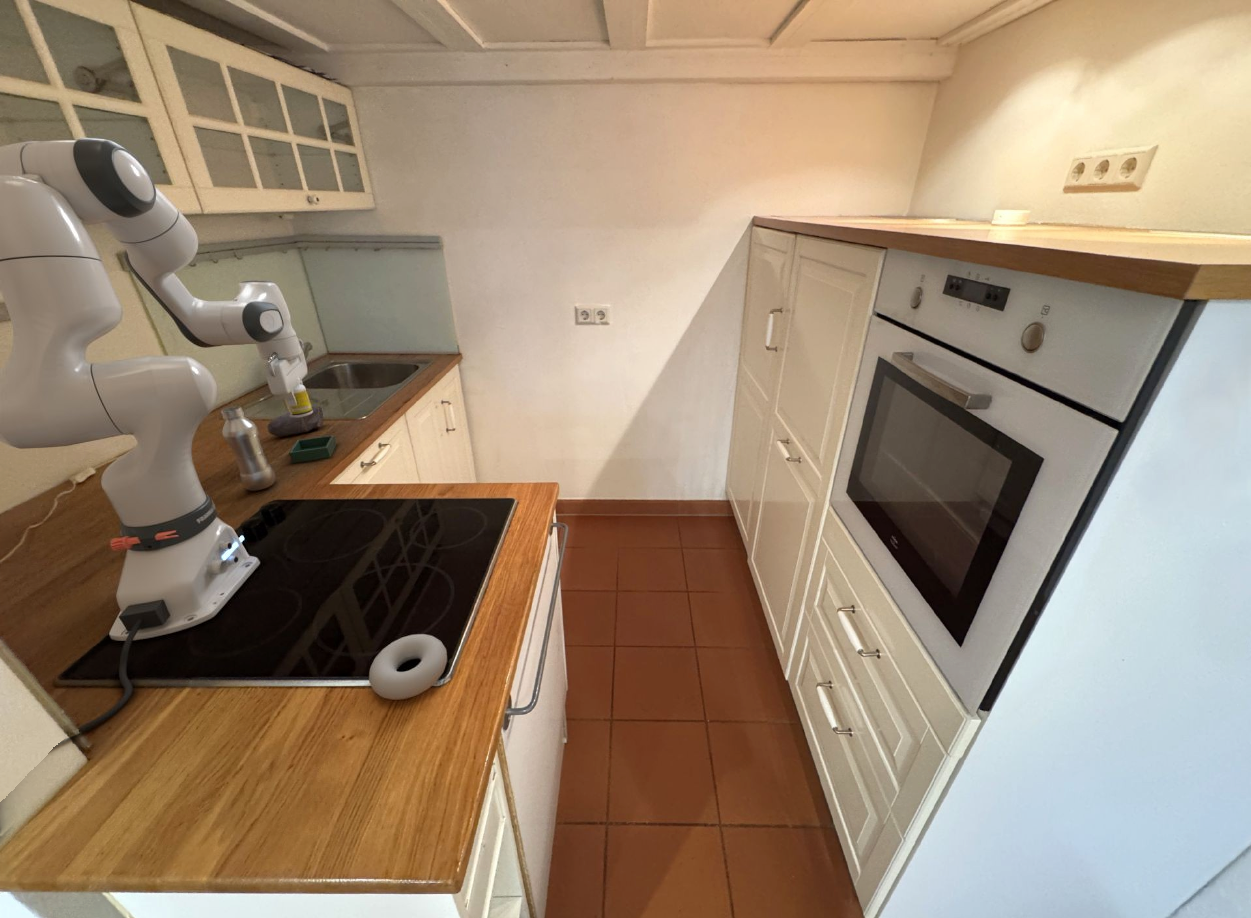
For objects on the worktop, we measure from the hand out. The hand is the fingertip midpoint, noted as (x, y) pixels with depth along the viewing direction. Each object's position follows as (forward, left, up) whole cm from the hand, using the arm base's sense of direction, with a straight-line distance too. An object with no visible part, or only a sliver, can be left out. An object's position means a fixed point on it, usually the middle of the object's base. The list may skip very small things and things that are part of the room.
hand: (297, 401), depth 130 cm
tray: (0, 0, -15) cm, 15 cm away
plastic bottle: (-17, +8, -15) cm, 24 cm away
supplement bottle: (0, 0, -4) cm, 4 cm away
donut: (-88, -30, -15) cm, 94 cm away
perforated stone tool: (+19, +8, -15) cm, 26 cm away
